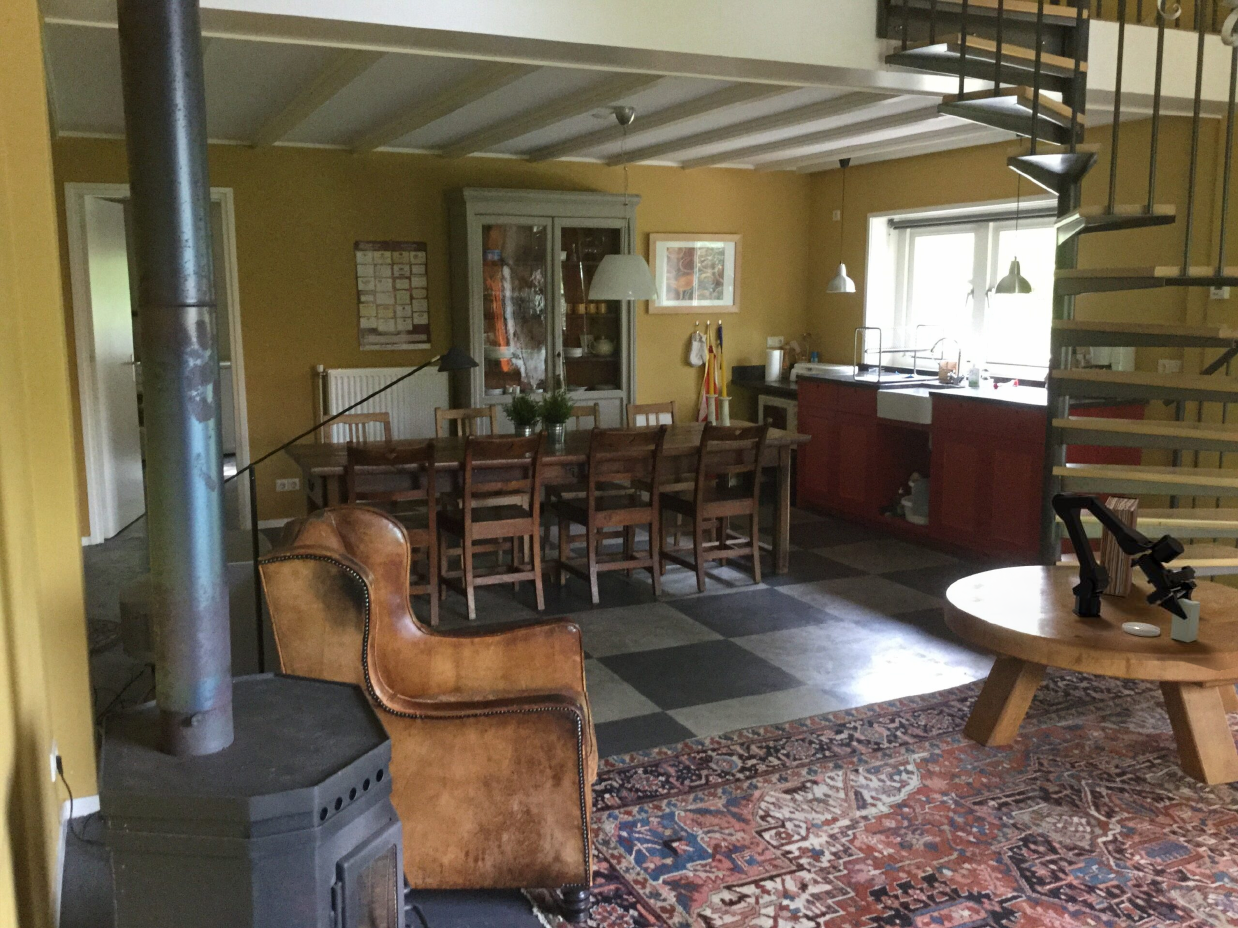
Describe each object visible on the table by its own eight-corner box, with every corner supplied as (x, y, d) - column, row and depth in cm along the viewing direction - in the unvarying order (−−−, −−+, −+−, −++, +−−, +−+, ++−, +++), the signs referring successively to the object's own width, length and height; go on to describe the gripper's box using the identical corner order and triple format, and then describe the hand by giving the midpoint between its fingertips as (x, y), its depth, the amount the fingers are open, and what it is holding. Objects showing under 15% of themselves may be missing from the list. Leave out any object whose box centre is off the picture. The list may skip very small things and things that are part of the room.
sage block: (1188, 642, 297) (1191, 604, 295) (1170, 637, 301) (1173, 600, 299) (1196, 639, 299) (1200, 602, 298) (1179, 634, 304) (1182, 598, 302)
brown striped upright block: (1126, 598, 343) (1134, 509, 339) (1096, 594, 348) (1103, 506, 343) (1131, 581, 365) (1139, 497, 361) (1103, 578, 370) (1109, 495, 365)
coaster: (1131, 635, 302) (1131, 631, 302) (1116, 625, 312) (1116, 621, 312) (1166, 636, 302) (1166, 632, 302) (1149, 626, 312) (1150, 622, 312)
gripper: (1160, 561, 295) (1196, 607, 287) (1193, 553, 305) (1229, 598, 298) (1131, 581, 302) (1165, 628, 295) (1164, 573, 313) (1198, 617, 305)
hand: (1190, 617), depth 298 cm, fingers closed on sage block, 5 cm apart
